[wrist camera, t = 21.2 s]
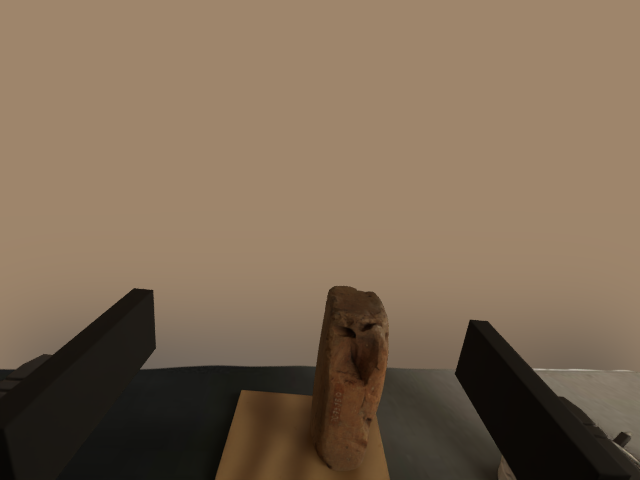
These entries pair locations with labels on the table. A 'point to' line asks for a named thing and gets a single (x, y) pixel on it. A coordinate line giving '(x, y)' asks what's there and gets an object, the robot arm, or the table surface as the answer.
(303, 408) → the cork mat
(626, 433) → the clip-on lamp
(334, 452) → the block
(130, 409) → the table surface
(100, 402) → the robot arm
